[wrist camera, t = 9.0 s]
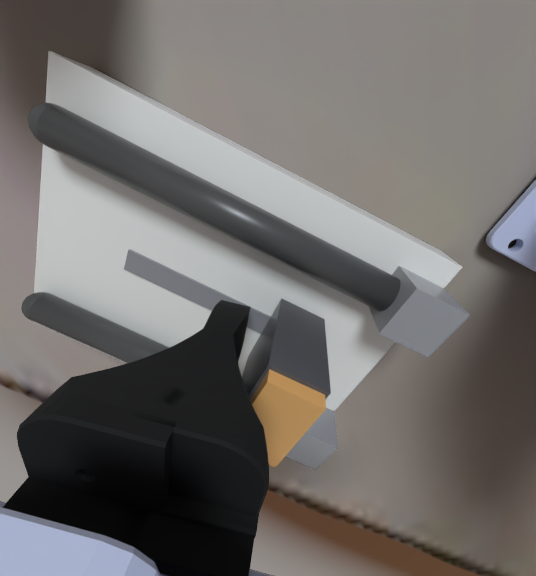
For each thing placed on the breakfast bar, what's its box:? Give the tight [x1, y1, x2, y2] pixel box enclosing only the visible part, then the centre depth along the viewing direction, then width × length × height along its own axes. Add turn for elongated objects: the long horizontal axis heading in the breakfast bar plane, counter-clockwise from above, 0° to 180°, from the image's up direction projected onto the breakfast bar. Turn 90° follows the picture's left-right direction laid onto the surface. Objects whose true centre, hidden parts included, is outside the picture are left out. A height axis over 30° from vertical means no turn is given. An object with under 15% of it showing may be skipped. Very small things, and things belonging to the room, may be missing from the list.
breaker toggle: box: [242, 298, 331, 468], centre depth 10 cm, size 2×4×4 cm, turn 155°
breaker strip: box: [22, 51, 470, 470], centre depth 12 cm, size 16×12×4 cm
